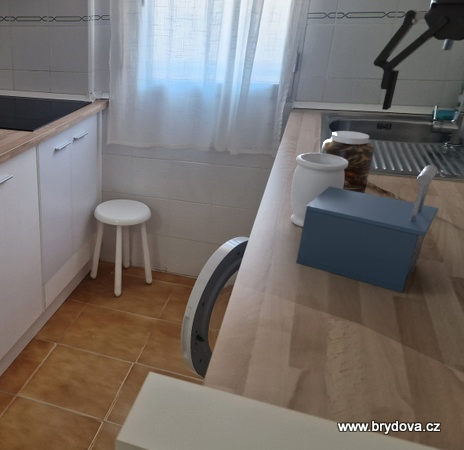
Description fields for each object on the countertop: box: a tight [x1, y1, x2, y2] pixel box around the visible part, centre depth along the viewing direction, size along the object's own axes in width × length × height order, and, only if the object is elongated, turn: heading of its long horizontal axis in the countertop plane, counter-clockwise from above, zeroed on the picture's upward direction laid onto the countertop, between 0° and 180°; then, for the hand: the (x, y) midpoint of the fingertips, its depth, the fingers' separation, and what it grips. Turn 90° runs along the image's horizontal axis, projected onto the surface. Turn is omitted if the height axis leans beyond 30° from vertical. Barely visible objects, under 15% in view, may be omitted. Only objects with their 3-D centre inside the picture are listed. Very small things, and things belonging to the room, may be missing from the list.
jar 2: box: [320, 130, 375, 194], centre depth 139 cm, size 12×12×15 cm
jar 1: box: [290, 152, 348, 228], centre depth 120 cm, size 11×10×15 cm
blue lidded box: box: [295, 210, 425, 294], centre depth 102 cm, size 18×14×11 cm
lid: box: [306, 164, 439, 237], centre depth 98 cm, size 19×14×9 cm
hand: (430, 113), depth 93 cm, fingers open, 13 cm apart
